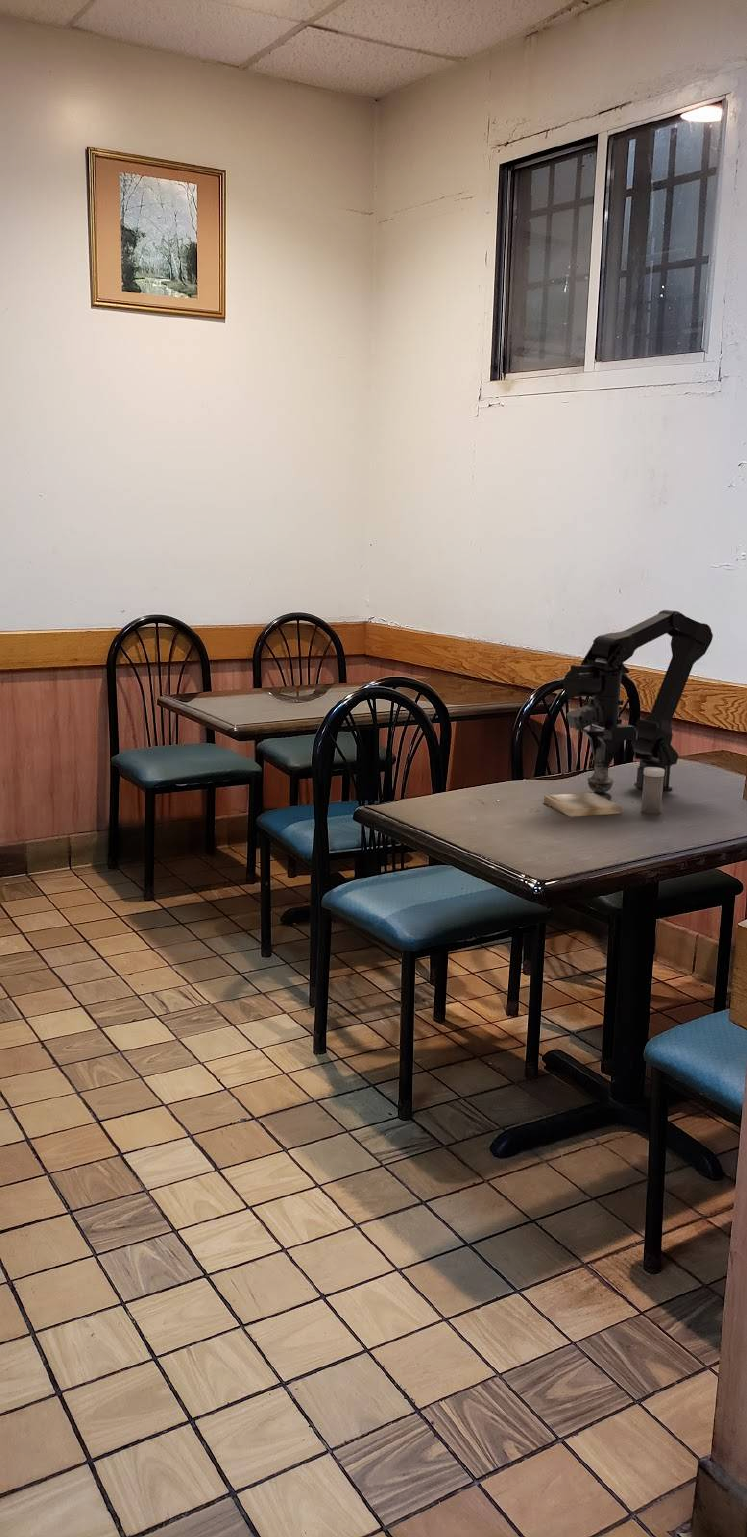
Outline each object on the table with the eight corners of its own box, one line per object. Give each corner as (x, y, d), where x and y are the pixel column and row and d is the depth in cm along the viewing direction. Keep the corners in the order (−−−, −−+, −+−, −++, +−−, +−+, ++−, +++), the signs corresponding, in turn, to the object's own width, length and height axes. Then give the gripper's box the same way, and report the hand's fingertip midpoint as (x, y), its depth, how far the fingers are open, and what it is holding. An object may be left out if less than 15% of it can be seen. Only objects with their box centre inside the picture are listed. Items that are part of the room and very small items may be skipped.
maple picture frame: (593, 799, 258) (594, 791, 258) (621, 813, 247) (622, 805, 247) (543, 802, 255) (544, 794, 254) (569, 816, 244) (570, 808, 243)
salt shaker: (615, 799, 259) (619, 745, 257) (588, 798, 259) (591, 744, 257) (610, 793, 265) (614, 740, 262) (584, 792, 265) (587, 739, 262)
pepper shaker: (654, 808, 252) (657, 766, 250) (664, 813, 248) (668, 771, 246) (636, 809, 251) (640, 767, 249) (647, 814, 247) (650, 771, 245)
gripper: (553, 688, 263) (549, 757, 267) (594, 702, 246) (589, 775, 249) (598, 687, 267) (593, 755, 270) (641, 701, 249) (635, 773, 253)
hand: (601, 764), depth 261 cm, fingers closed on salt shaker, 4 cm apart
